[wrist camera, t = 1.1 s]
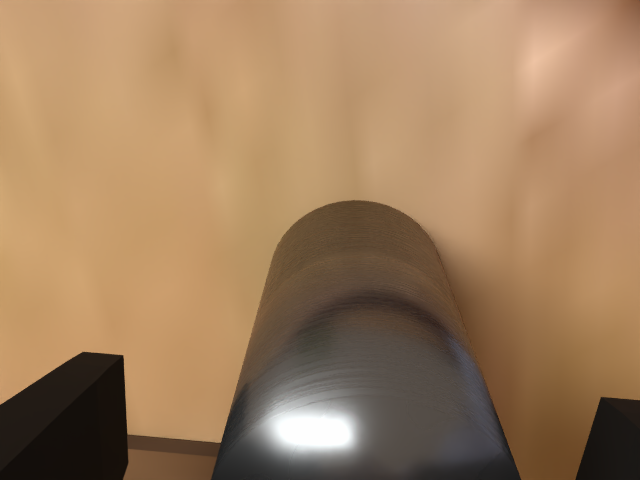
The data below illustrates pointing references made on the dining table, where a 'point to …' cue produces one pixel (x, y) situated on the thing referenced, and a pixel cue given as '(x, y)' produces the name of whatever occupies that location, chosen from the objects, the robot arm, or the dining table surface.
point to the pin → (360, 362)
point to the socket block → (169, 459)
